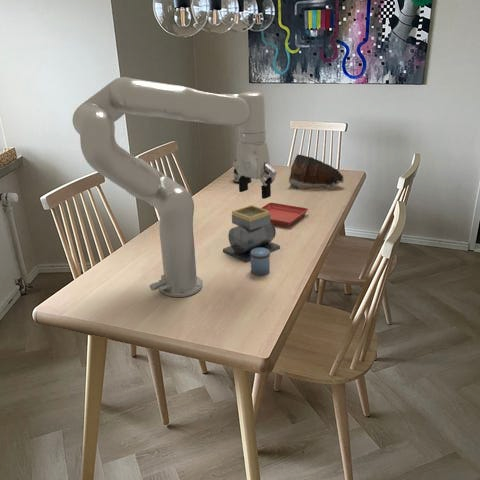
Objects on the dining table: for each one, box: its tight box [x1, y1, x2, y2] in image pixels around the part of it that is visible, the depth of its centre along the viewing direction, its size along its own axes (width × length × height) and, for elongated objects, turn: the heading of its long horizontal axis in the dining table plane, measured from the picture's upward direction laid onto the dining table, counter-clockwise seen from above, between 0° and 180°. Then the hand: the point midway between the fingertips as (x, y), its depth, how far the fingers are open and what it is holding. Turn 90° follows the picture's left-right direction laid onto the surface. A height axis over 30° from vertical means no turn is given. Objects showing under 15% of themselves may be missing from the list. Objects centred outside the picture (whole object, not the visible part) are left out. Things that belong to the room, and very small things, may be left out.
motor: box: [222, 204, 281, 263], centre depth 162 cm, size 16×12×14 cm
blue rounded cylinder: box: [250, 248, 271, 277], centre depth 148 cm, size 6×6×7 cm
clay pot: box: [288, 154, 345, 190], centre depth 227 cm, size 15×15×25 cm
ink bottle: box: [233, 157, 252, 184], centre depth 239 cm, size 10×9×12 cm
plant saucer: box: [261, 202, 309, 228], centre depth 192 cm, size 18×18×3 cm
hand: (254, 194), depth 142 cm, fingers open, 9 cm apart
